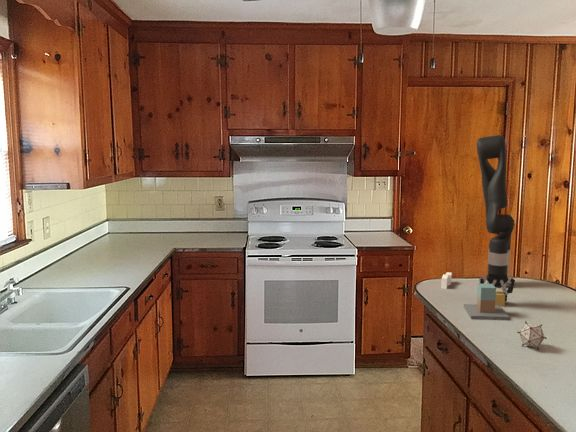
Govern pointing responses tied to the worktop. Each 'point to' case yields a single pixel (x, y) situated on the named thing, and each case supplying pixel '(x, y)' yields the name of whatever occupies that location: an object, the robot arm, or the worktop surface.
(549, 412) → the worktop surface
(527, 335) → the game die
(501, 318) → the baseplate
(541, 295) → the worktop surface
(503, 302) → the ochre block
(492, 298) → the teal block
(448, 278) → the notched block
